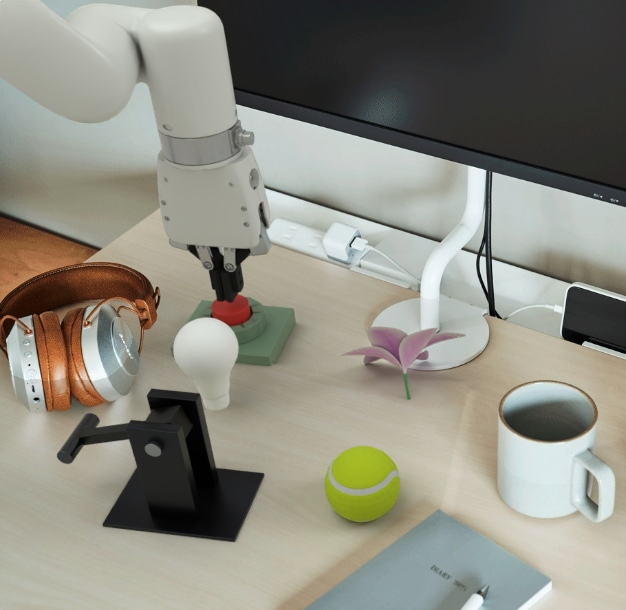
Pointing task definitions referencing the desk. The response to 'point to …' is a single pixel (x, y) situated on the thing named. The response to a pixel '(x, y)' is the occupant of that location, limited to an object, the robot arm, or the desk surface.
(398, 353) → the lily
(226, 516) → the switch bracket
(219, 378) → the lightbulb
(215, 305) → the button
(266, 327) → the button box
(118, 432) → the switch lever
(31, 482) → the desk surface
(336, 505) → the tennis ball
